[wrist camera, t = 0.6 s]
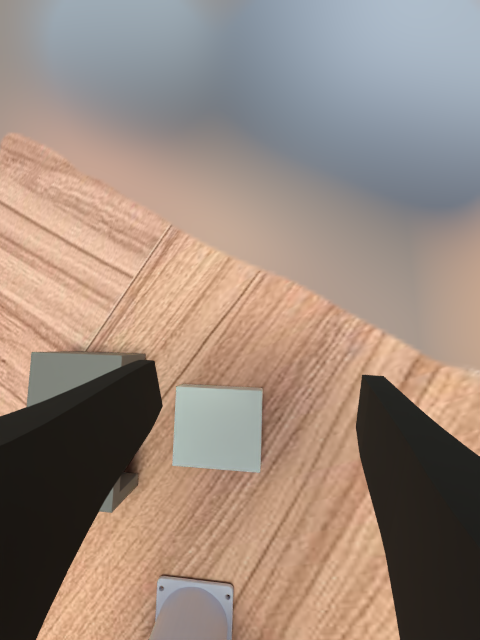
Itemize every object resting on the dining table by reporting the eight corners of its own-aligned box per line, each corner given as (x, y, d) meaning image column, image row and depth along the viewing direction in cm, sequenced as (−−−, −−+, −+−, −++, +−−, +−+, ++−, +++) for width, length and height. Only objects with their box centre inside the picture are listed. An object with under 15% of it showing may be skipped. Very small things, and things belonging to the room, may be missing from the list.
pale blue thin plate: (260, 462, 31) (260, 472, 28) (180, 456, 32) (172, 465, 29) (262, 387, 31) (262, 390, 29) (183, 383, 32) (176, 386, 30)
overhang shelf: (137, 485, 31) (111, 512, 26) (57, 478, 32) (17, 503, 27) (145, 353, 33) (121, 355, 27) (68, 350, 34) (31, 352, 28)
